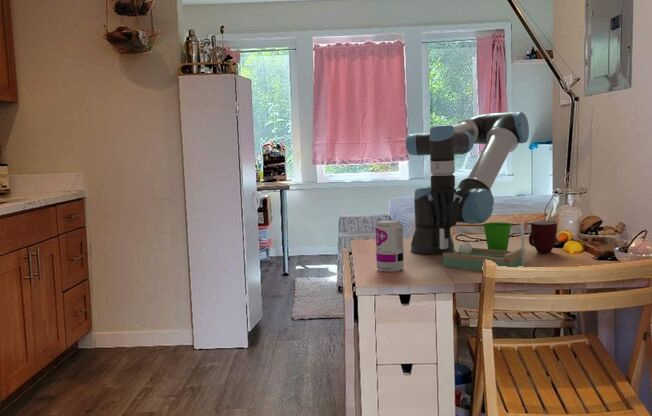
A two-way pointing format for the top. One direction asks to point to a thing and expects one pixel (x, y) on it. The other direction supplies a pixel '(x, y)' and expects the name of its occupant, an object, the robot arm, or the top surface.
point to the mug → (543, 236)
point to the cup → (497, 235)
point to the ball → (465, 248)
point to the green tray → (483, 258)
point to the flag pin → (523, 227)
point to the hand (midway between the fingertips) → (444, 248)
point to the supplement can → (389, 245)
